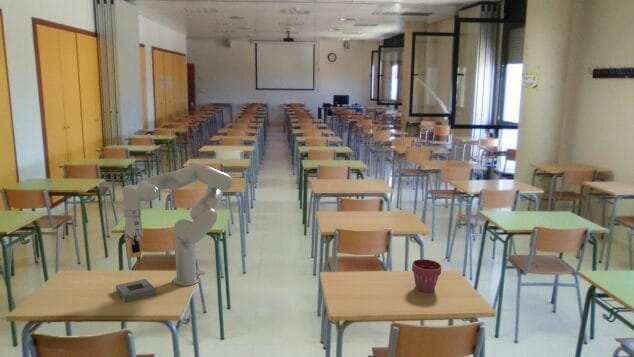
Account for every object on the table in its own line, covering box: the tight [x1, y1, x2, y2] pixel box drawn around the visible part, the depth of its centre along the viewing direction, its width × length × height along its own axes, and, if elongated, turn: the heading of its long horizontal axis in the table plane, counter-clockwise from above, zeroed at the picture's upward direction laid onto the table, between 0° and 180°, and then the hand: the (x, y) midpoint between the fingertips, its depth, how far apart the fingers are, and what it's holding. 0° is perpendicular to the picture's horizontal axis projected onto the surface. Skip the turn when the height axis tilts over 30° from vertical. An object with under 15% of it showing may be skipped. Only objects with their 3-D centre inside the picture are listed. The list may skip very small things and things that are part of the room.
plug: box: [125, 236, 142, 259], centre depth 235 cm, size 5×4×9 cm
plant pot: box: [411, 258, 442, 293], centre depth 253 cm, size 14×14×13 cm
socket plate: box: [115, 278, 157, 303], centre depth 240 cm, size 14×14×3 cm
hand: (134, 250), depth 236 cm, fingers closed on plug, 4 cm apart
